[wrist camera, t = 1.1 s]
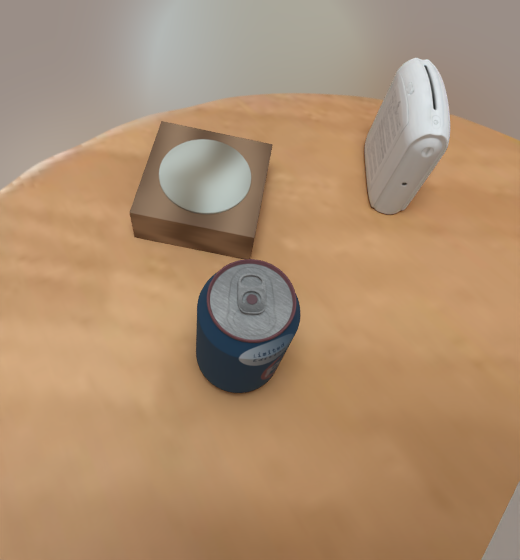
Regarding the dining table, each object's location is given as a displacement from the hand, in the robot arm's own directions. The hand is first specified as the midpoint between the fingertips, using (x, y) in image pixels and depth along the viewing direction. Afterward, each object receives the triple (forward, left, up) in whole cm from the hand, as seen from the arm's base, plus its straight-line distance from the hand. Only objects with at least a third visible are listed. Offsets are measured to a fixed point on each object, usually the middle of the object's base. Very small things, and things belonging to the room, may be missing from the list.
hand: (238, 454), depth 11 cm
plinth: (+6, -26, -28) cm, 39 cm away
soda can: (0, -11, -28) cm, 30 cm away
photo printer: (-12, -34, -28) cm, 46 cm away
